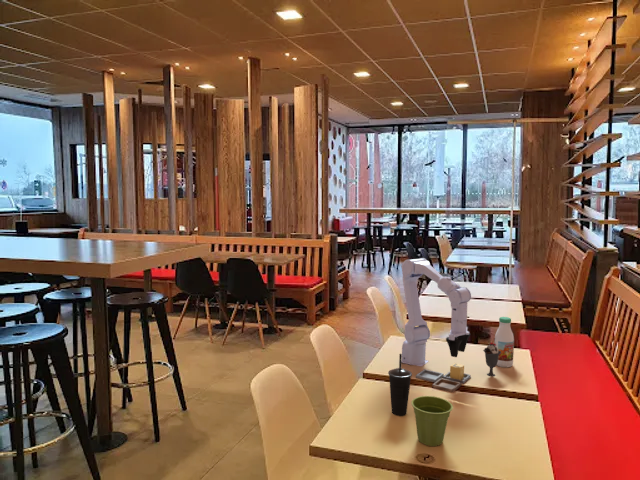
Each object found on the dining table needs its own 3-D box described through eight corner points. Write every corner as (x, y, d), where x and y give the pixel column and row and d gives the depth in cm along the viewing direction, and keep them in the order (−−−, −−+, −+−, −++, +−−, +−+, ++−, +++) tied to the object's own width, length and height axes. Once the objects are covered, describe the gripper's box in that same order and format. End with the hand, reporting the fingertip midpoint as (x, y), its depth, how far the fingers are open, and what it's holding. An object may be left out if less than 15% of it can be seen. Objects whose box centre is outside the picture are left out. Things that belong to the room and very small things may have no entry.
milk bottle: (490, 364, 214) (492, 318, 212) (498, 360, 220) (500, 314, 218) (508, 369, 209) (510, 321, 207) (515, 364, 215) (518, 317, 212)
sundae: (497, 373, 205) (499, 336, 203) (501, 379, 198) (503, 341, 196) (480, 372, 205) (482, 336, 204) (484, 378, 199) (485, 341, 197)
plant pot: (425, 454, 143) (427, 416, 141) (402, 435, 154) (403, 399, 152) (460, 446, 147) (461, 408, 146) (435, 428, 158) (436, 393, 157)
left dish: (415, 378, 198) (415, 375, 198) (424, 372, 205) (424, 369, 204) (435, 383, 194) (435, 379, 193) (443, 377, 200) (443, 373, 200)
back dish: (442, 380, 197) (443, 376, 197) (450, 374, 203) (450, 370, 203) (463, 385, 192) (463, 381, 192) (470, 378, 199) (470, 374, 199)
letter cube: (449, 378, 197) (450, 365, 197) (453, 375, 201) (454, 362, 200) (460, 380, 195) (460, 368, 194) (463, 377, 198) (464, 365, 198)
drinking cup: (412, 409, 171) (414, 351, 169) (408, 419, 164) (410, 359, 162) (389, 406, 173) (391, 349, 171) (385, 416, 166) (386, 356, 164)
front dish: (432, 388, 189) (432, 384, 189) (440, 381, 195) (441, 378, 195) (453, 393, 184) (453, 389, 184) (461, 386, 191) (461, 382, 191)
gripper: (462, 325, 187) (461, 361, 189) (475, 317, 199) (474, 351, 200) (443, 322, 191) (442, 357, 193) (458, 314, 203) (457, 347, 204)
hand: (457, 353), depth 197 cm, fingers open, 7 cm apart
